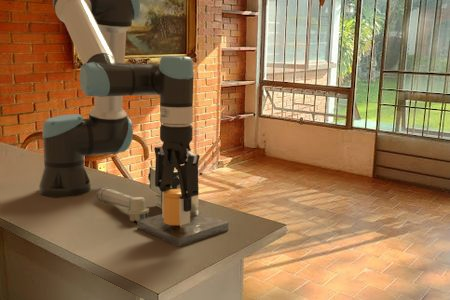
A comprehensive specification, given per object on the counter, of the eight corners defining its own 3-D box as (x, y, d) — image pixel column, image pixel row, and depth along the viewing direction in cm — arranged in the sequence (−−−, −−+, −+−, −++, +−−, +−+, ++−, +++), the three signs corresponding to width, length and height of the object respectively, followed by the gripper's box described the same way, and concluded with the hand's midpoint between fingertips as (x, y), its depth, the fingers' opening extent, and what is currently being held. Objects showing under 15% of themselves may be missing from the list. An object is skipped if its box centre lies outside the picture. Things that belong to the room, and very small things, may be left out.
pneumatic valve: (165, 214, 134) (165, 171, 131) (147, 202, 143) (147, 162, 141) (183, 211, 137) (183, 169, 134) (164, 200, 146) (164, 160, 144)
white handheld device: (110, 185, 147) (152, 194, 127) (111, 207, 147) (154, 219, 128) (93, 188, 144) (133, 197, 124) (95, 210, 144) (135, 223, 125)
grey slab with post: (137, 228, 123) (137, 192, 121) (186, 214, 134) (186, 181, 132) (179, 246, 112) (179, 207, 110) (228, 229, 123) (229, 194, 121)
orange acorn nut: (159, 220, 118) (159, 191, 116) (177, 215, 122) (177, 187, 120) (174, 226, 114) (174, 197, 113) (192, 221, 118) (192, 192, 116)
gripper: (138, 121, 117) (139, 214, 121) (191, 131, 104) (190, 234, 109) (163, 118, 122) (163, 207, 127) (216, 127, 110) (214, 226, 114)
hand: (175, 220), depth 118 cm, fingers closed on orange acorn nut, 6 cm apart
